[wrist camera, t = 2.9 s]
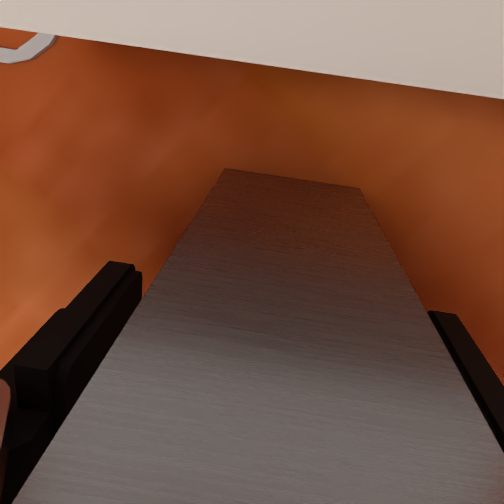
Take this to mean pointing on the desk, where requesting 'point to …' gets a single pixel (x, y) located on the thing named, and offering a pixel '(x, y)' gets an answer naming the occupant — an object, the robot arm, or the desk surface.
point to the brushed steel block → (275, 372)
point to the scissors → (28, 49)
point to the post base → (300, 35)
